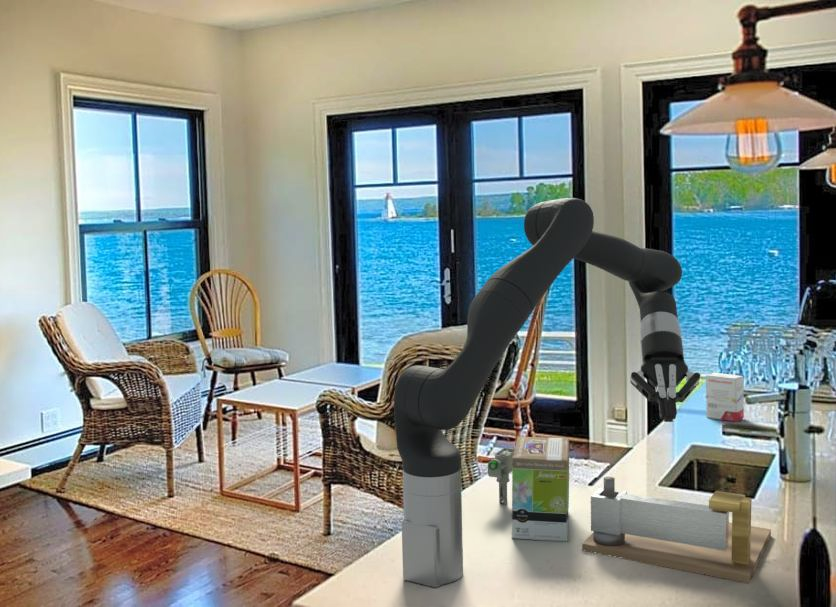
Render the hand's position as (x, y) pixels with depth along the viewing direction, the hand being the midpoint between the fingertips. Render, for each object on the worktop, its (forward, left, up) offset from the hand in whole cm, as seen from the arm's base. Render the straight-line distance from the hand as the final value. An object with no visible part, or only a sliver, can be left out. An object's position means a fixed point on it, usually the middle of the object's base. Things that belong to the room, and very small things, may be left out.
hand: (669, 419), depth 150 cm
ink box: (+83, +7, -20) cm, 85 cm away
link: (-15, -2, -16) cm, 22 cm away
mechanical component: (-4, +31, -20) cm, 37 cm away
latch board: (-8, -4, -19) cm, 21 cm away
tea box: (-11, +20, -20) cm, 30 cm away
